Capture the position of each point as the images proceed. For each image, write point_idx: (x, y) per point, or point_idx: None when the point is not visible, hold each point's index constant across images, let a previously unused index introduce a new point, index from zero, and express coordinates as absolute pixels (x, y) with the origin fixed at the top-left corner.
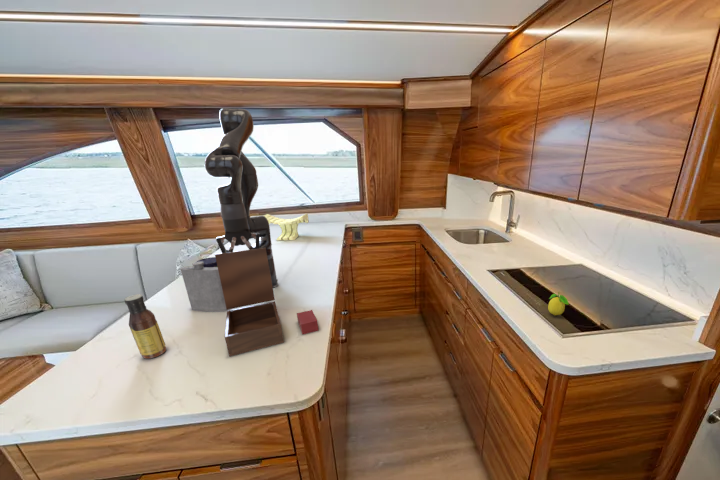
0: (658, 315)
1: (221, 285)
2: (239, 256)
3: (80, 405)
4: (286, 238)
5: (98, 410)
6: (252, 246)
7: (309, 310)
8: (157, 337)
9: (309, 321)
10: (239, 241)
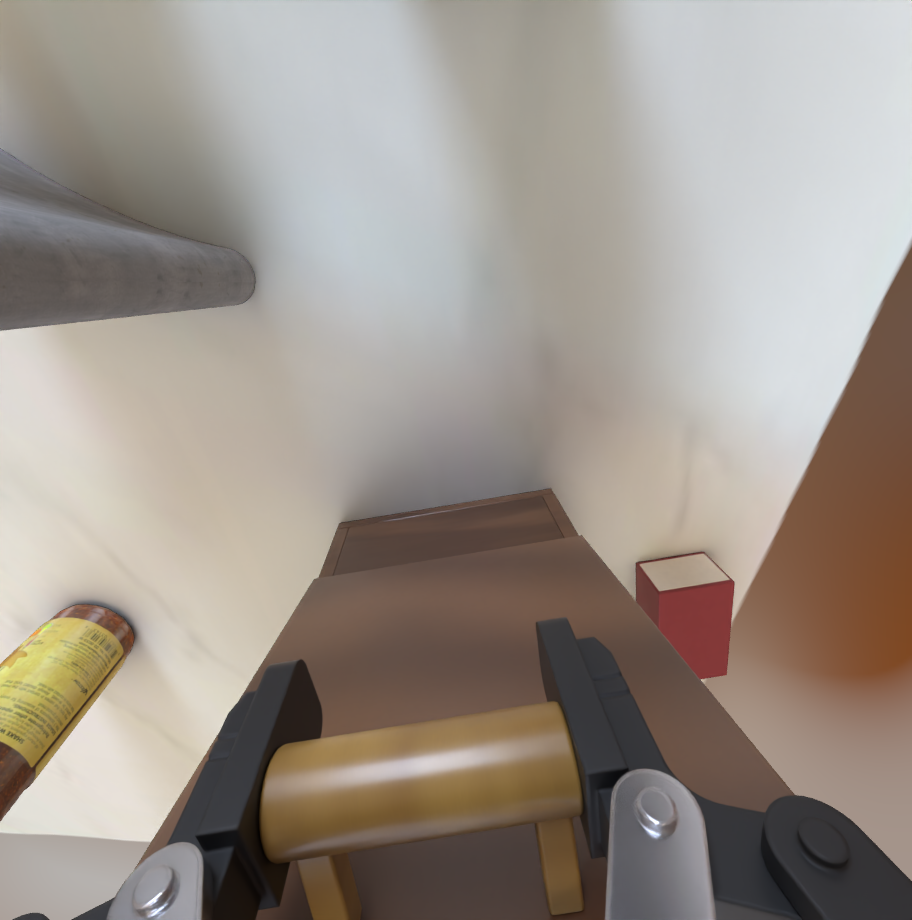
0: None
1: None
2: None
3: (61, 795)
4: None
5: (128, 815)
6: (712, 891)
7: (721, 585)
8: (83, 714)
9: (695, 673)
10: None
